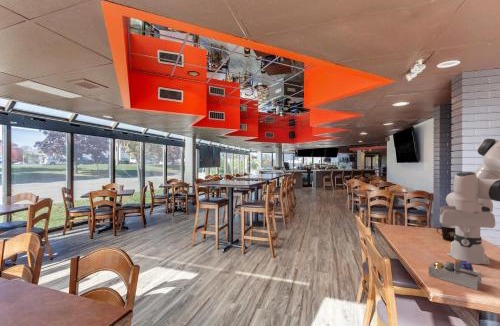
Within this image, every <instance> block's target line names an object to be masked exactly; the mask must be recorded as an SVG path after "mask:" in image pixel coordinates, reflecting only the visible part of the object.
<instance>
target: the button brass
mask: <svg viewBox="0 0 500 326" xmlns="http://www.w3.org/2000/svg"><path fill="white" fill-rule="evenodd" d="M434 262H435V266H436V267H440V268H443V264H444V263H443V262H439V261H434Z"/></svg>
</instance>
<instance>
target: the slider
mask: <svg viewBox="0 0 500 326" xmlns="http://www.w3.org/2000/svg"><path fill="white" fill-rule="evenodd" d="M454 260H455V261H454V262H455V263H454V266H455V271H458V272H459V271H460V270H461V260H459V259H454Z"/></svg>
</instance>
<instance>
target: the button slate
mask: <svg viewBox="0 0 500 326" xmlns="http://www.w3.org/2000/svg"><path fill="white" fill-rule="evenodd" d="M445 264H446V269H448V270H451V271H454V266H455V263H454V262H452V261H446V262H445Z"/></svg>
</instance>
